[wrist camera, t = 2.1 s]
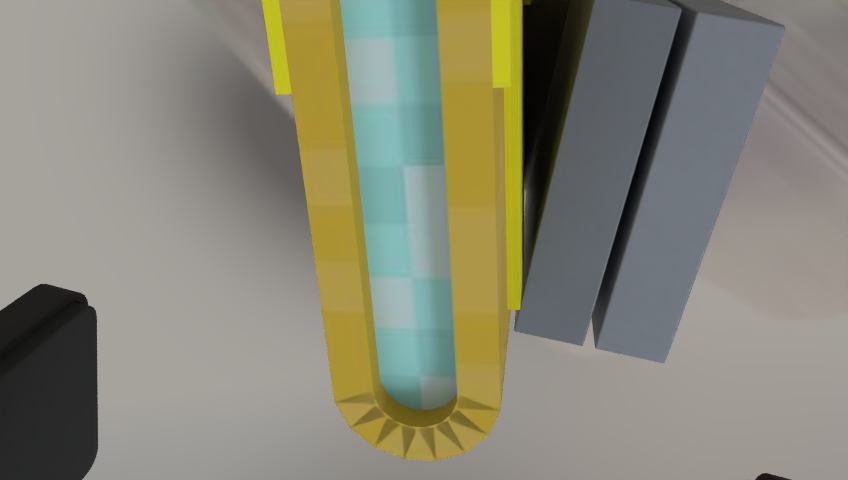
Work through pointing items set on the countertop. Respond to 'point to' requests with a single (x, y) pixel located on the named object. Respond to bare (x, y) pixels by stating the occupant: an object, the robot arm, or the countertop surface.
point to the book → (411, 204)
